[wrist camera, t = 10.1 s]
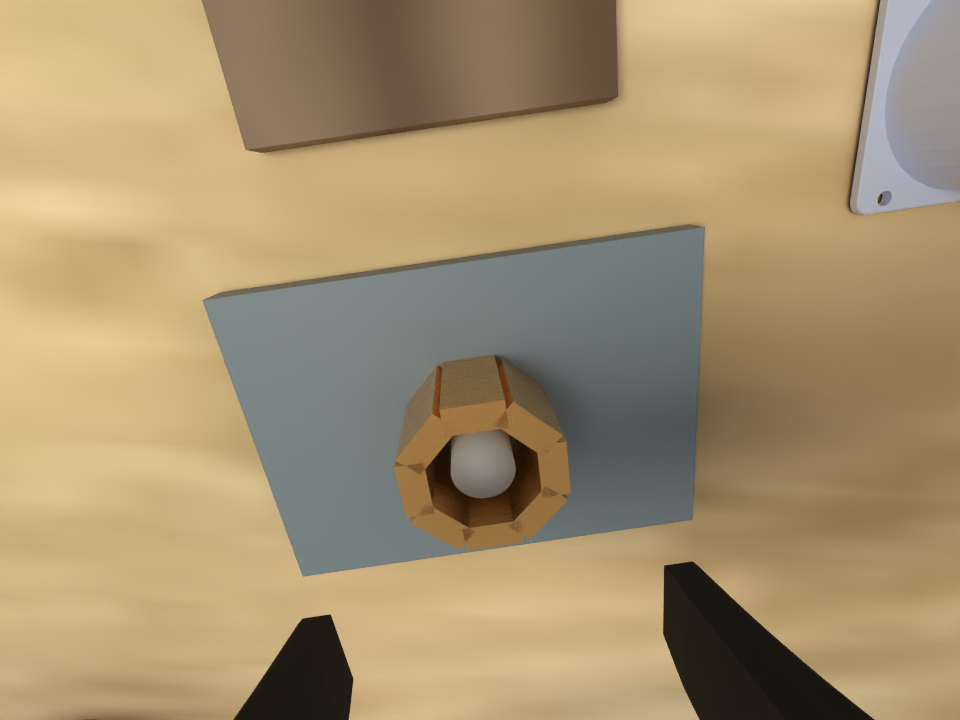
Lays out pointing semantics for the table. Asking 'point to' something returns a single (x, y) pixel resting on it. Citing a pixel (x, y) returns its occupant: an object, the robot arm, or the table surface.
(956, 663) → the table surface
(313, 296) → the board
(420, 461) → the collar
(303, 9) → the stand
